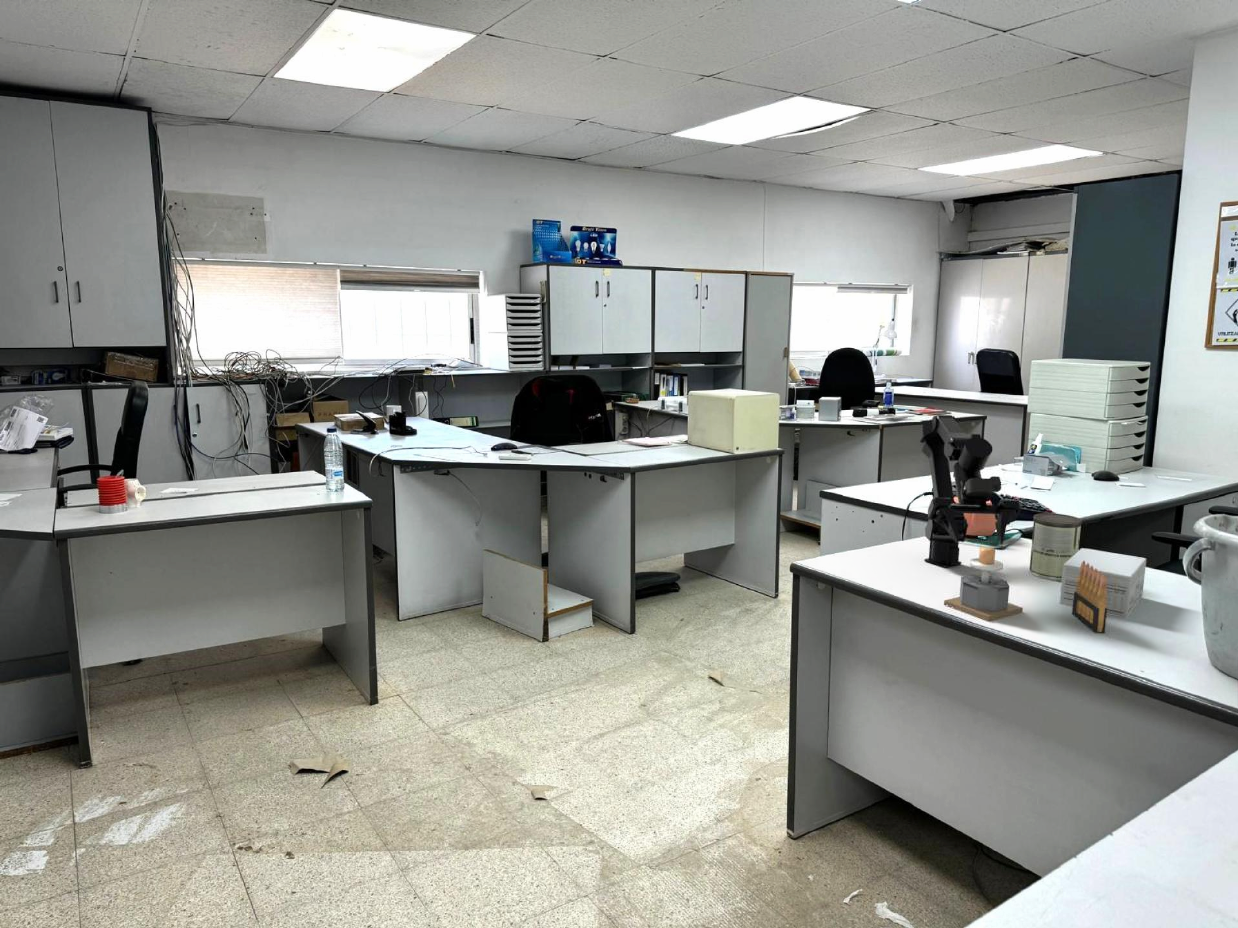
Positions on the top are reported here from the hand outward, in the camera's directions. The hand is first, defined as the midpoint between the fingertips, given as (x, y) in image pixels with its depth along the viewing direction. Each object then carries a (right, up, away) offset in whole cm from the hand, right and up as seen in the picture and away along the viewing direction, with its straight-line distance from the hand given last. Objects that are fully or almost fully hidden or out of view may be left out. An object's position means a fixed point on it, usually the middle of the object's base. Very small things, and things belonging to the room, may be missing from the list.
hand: (979, 542), depth 179 cm
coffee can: (+27, -10, +20) cm, 35 cm away
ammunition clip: (+17, -16, -12) cm, 26 cm away
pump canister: (-1, -14, -3) cm, 14 cm away
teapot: (+22, -3, +57) cm, 62 cm away
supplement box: (+28, -13, +2) cm, 31 cm away
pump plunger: (-1, -9, -4) cm, 10 cm away
